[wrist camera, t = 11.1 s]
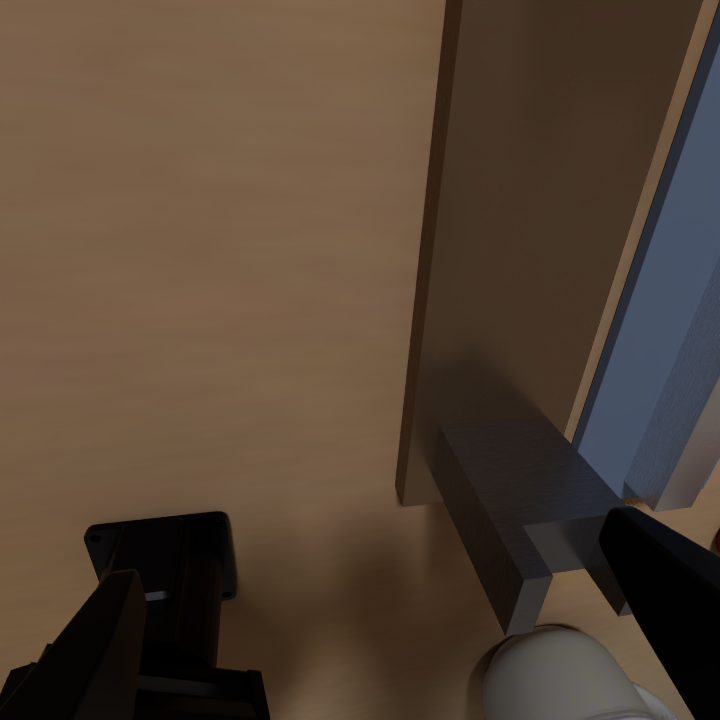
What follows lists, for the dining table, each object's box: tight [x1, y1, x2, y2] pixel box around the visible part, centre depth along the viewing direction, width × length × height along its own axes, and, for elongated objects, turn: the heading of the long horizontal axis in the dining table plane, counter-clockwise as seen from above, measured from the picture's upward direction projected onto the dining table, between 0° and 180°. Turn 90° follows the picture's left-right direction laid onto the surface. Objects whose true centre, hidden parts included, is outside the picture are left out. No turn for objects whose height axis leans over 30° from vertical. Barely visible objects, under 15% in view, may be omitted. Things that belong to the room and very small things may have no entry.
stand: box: [395, 0, 703, 636], centre depth 14 cm, size 29×8×10 cm, turn 178°
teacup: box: [481, 625, 678, 720], centre depth 33 cm, size 14×11×8 cm
